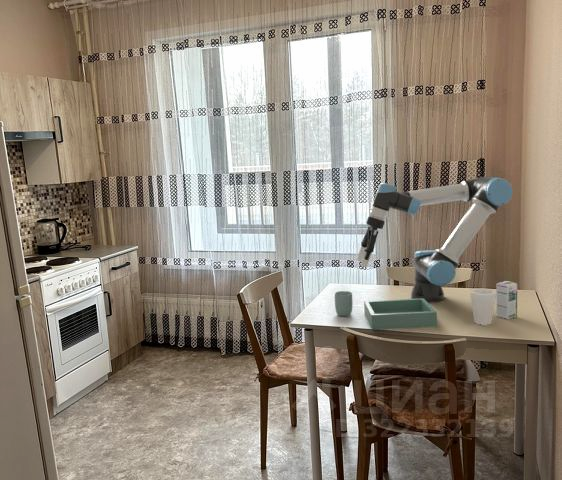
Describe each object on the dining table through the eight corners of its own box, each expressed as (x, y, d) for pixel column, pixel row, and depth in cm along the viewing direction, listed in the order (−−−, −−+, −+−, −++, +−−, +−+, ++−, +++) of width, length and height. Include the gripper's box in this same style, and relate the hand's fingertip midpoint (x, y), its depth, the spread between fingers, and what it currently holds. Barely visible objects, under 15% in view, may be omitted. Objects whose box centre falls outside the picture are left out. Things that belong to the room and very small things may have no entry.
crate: (423, 311, 222) (423, 298, 221) (436, 326, 202) (436, 312, 201) (364, 314, 222) (364, 301, 221) (371, 329, 203) (371, 315, 202)
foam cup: (494, 319, 206) (495, 288, 204) (496, 327, 198) (496, 295, 195) (469, 318, 209) (470, 288, 207) (470, 325, 201) (470, 294, 199)
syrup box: (507, 319, 205) (508, 285, 203) (495, 316, 210) (496, 282, 208) (517, 317, 208) (518, 282, 205) (505, 313, 213) (505, 280, 211)
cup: (352, 318, 218) (351, 295, 216) (334, 317, 220) (333, 295, 218) (353, 312, 226) (352, 290, 224) (336, 312, 227) (335, 290, 225)
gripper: (364, 213, 232) (350, 256, 235) (373, 218, 208) (356, 266, 211) (380, 218, 233) (365, 261, 236) (390, 223, 208) (373, 271, 211)
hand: (361, 263), depth 223 cm, fingers open, 13 cm apart
